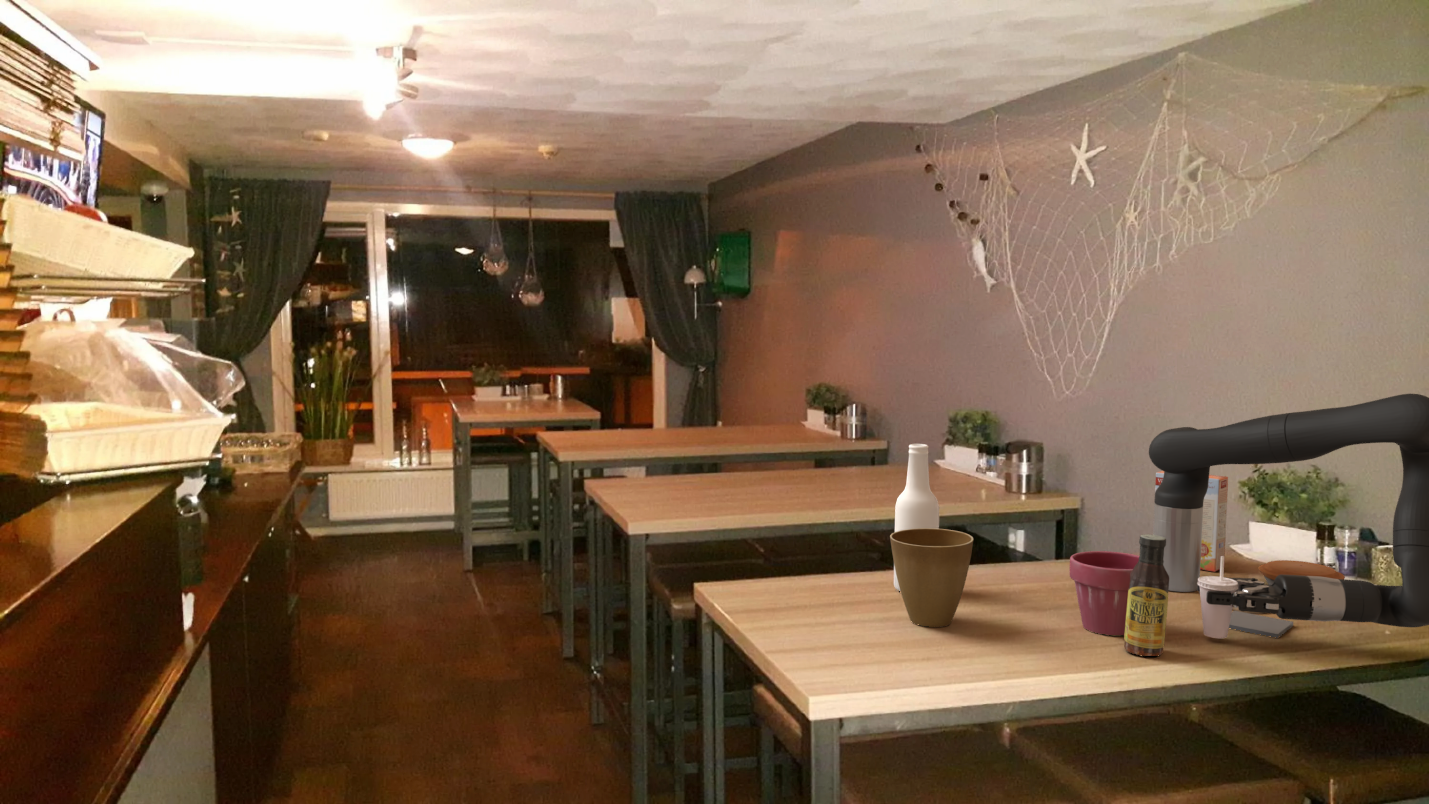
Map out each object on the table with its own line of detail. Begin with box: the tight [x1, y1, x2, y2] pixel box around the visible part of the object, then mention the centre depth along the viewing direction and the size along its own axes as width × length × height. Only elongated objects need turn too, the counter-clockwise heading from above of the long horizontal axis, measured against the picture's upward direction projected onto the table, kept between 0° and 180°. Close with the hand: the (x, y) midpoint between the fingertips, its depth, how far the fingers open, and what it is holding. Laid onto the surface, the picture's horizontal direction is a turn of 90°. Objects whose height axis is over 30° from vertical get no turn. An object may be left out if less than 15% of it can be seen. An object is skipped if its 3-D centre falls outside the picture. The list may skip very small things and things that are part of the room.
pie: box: [1257, 559, 1346, 585], centre depth 213 cm, size 15×16×5 cm
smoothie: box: [1197, 556, 1238, 639], centre depth 178 cm, size 6×6×14 cm
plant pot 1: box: [889, 528, 974, 628], centre depth 188 cm, size 15×15×16 cm
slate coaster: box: [1229, 611, 1294, 639], centre depth 187 cm, size 10×10×1 cm
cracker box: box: [1154, 470, 1229, 573], centre depth 231 cm, size 14×6×21 cm, turn 44°
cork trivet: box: [1232, 607, 1266, 615], centre depth 199 cm, size 9×9×1 cm
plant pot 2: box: [1069, 550, 1140, 636], centre depth 184 cm, size 14×14×13 cm
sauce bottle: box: [1123, 534, 1169, 657], centre depth 171 cm, size 7×6×20 cm
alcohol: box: [893, 443, 940, 591], centre depth 208 cm, size 9×9×30 cm
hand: (1202, 591), depth 178 cm, fingers closed on smoothie, 6 cm apart
